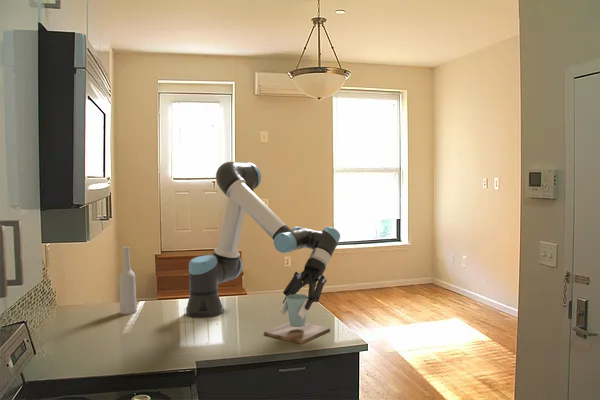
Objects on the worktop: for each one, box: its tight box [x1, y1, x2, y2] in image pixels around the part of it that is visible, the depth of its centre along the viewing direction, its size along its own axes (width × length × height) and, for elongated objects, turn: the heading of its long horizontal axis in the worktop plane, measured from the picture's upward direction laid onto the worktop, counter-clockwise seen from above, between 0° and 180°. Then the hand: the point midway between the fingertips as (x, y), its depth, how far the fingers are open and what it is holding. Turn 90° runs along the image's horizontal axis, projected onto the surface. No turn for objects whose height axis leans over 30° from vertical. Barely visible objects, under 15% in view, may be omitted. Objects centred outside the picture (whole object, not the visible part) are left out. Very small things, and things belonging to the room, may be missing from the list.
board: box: [263, 321, 331, 345], centre depth 179 cm, size 17×17×1 cm
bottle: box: [118, 246, 138, 315], centre depth 210 cm, size 7×7×28 cm
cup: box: [285, 293, 308, 327], centre depth 178 cm, size 8×8×10 cm
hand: (291, 314), depth 176 cm, fingers closed on cup, 8 cm apart
